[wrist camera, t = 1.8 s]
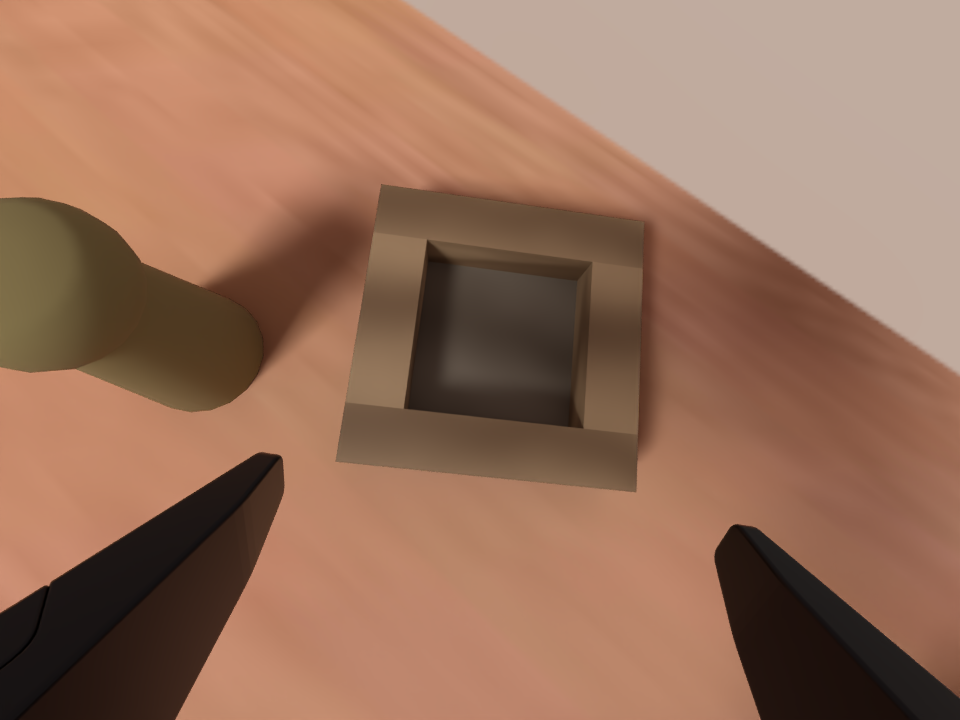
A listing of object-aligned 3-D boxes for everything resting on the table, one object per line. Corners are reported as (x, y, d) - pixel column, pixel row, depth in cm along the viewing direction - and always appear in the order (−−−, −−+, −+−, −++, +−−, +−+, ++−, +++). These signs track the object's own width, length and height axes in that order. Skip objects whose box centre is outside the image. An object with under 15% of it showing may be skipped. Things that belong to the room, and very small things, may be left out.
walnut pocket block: (607, 485, 23) (636, 492, 20) (351, 459, 22) (335, 461, 19) (617, 252, 26) (644, 221, 22) (389, 220, 25) (381, 184, 21)
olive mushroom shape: (149, 290, 23) (-106, 150, 12) (271, 299, 23) (128, 171, 13) (125, 408, 22) (-182, 368, 11) (254, 415, 22) (79, 382, 11)
